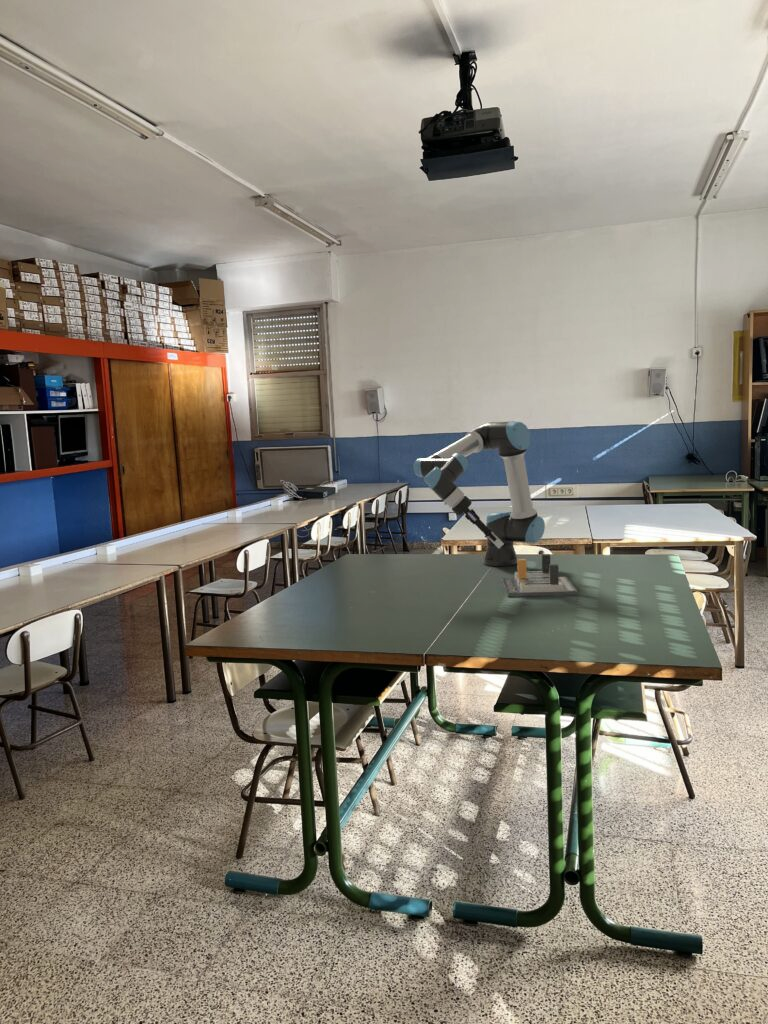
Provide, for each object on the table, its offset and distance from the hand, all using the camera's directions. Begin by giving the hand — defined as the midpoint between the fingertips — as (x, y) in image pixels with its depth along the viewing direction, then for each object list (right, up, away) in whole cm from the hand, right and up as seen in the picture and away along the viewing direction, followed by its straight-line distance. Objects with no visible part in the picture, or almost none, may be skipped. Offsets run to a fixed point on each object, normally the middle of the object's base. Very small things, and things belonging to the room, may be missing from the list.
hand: (501, 546), depth 284 cm
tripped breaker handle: (+8, -12, +1) cm, 15 cm away
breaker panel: (+14, -16, +1) cm, 22 cm away
